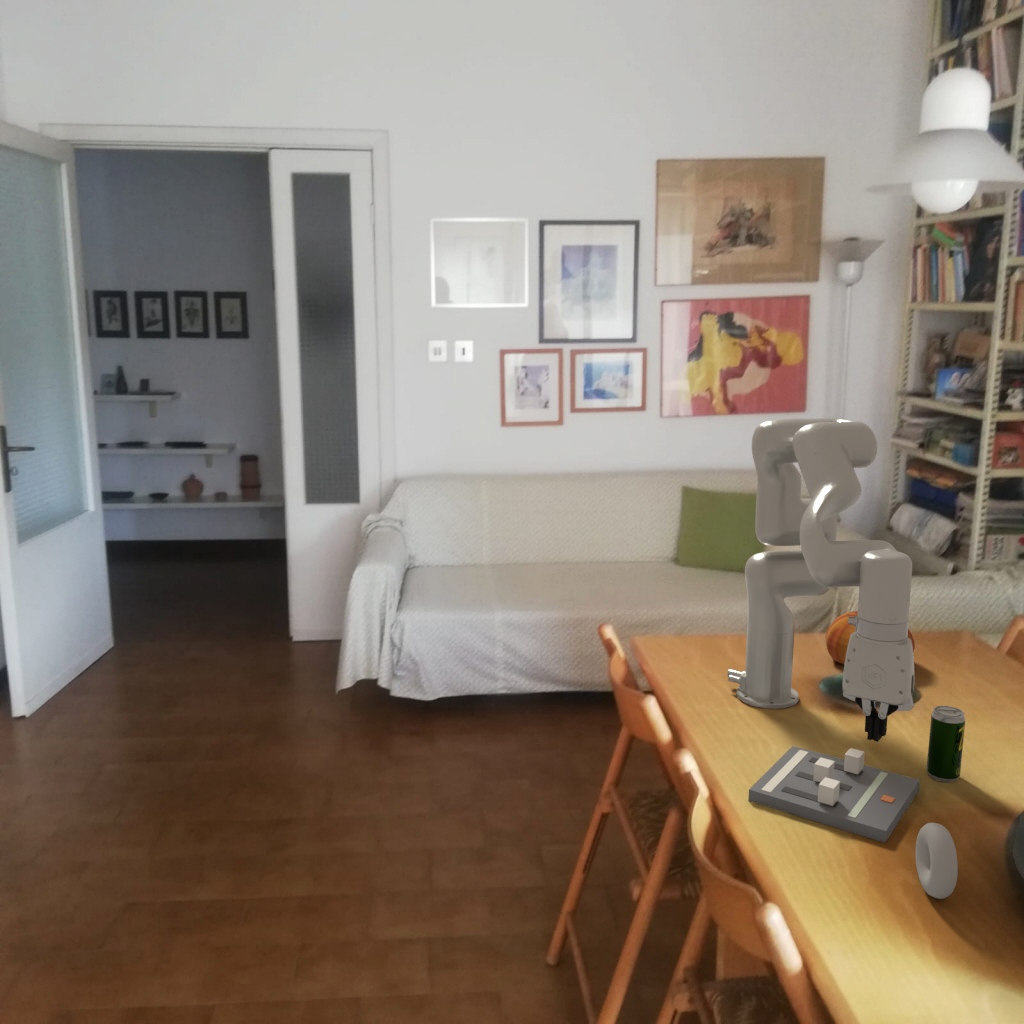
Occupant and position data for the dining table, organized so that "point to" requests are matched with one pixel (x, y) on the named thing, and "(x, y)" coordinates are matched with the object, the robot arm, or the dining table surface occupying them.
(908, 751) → the dining table surface
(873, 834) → the panel
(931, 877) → the donut
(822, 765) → the handle
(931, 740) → the beer can
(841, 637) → the pumpkin
